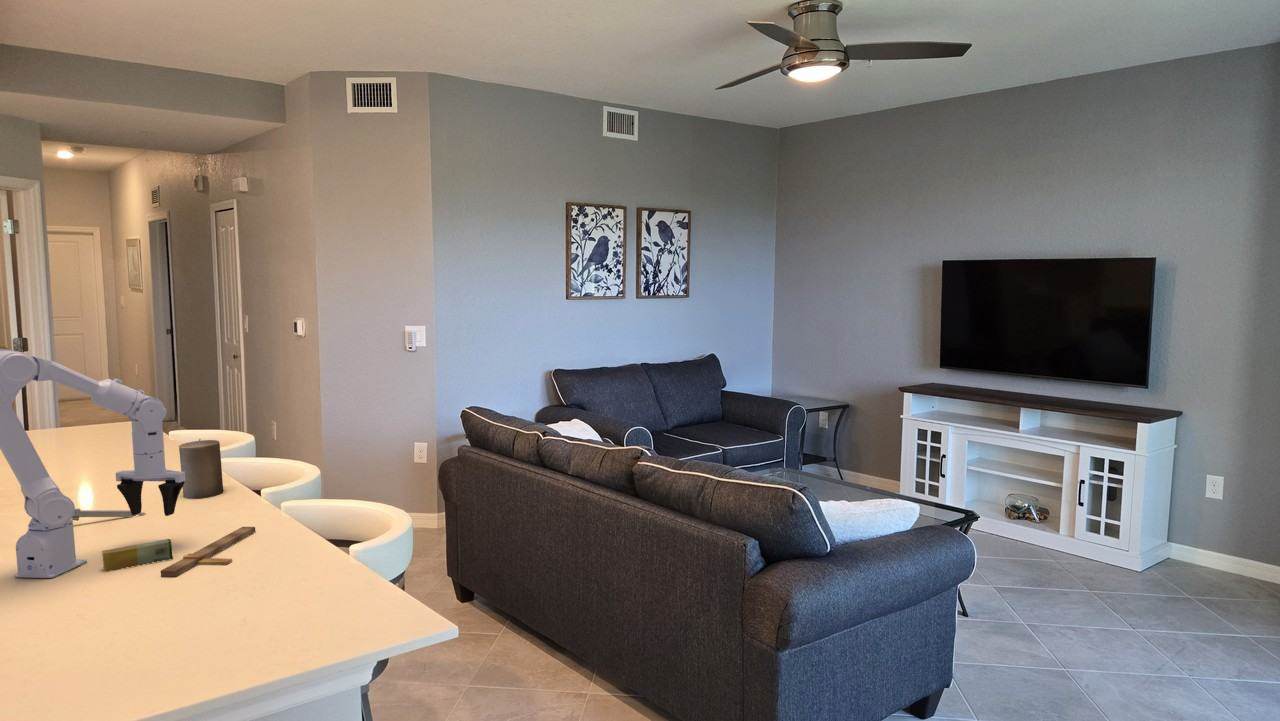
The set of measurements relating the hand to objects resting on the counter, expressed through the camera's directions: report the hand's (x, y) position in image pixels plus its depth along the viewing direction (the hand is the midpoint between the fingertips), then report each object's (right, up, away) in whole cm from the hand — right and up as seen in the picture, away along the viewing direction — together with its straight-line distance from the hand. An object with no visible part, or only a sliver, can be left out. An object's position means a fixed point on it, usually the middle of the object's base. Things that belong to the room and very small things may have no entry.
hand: (153, 514), depth 179 cm
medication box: (+3, -8, -11) cm, 14 cm away
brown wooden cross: (+18, -7, -5) cm, 20 cm away
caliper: (-24, -6, +18) cm, 31 cm away
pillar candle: (-12, -3, +43) cm, 45 cm away
